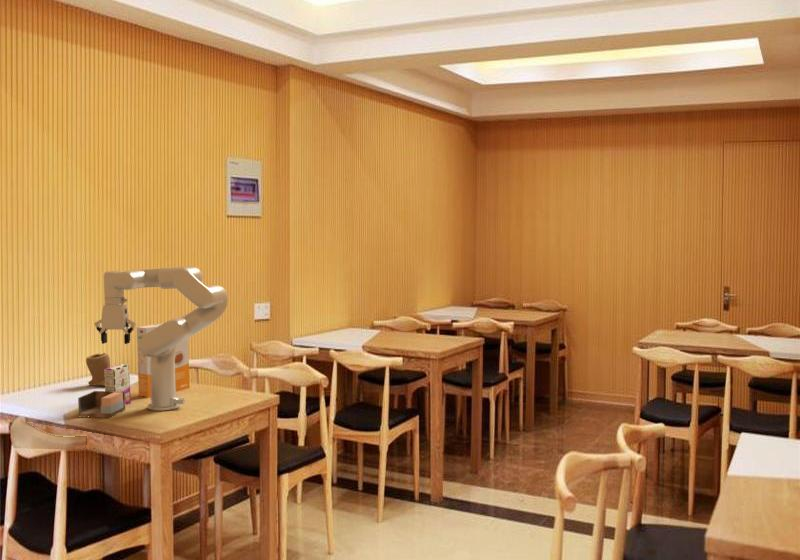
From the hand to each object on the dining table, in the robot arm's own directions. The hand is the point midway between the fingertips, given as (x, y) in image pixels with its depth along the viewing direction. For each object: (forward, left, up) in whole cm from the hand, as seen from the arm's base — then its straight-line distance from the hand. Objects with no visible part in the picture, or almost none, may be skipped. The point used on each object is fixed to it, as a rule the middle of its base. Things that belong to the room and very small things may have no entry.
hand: (115, 343), depth 312 cm
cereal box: (-8, -27, -26) cm, 38 cm away
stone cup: (+26, -37, -26) cm, 52 cm away
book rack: (0, +13, -26) cm, 29 cm away
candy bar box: (0, 0, -26) cm, 26 cm away
